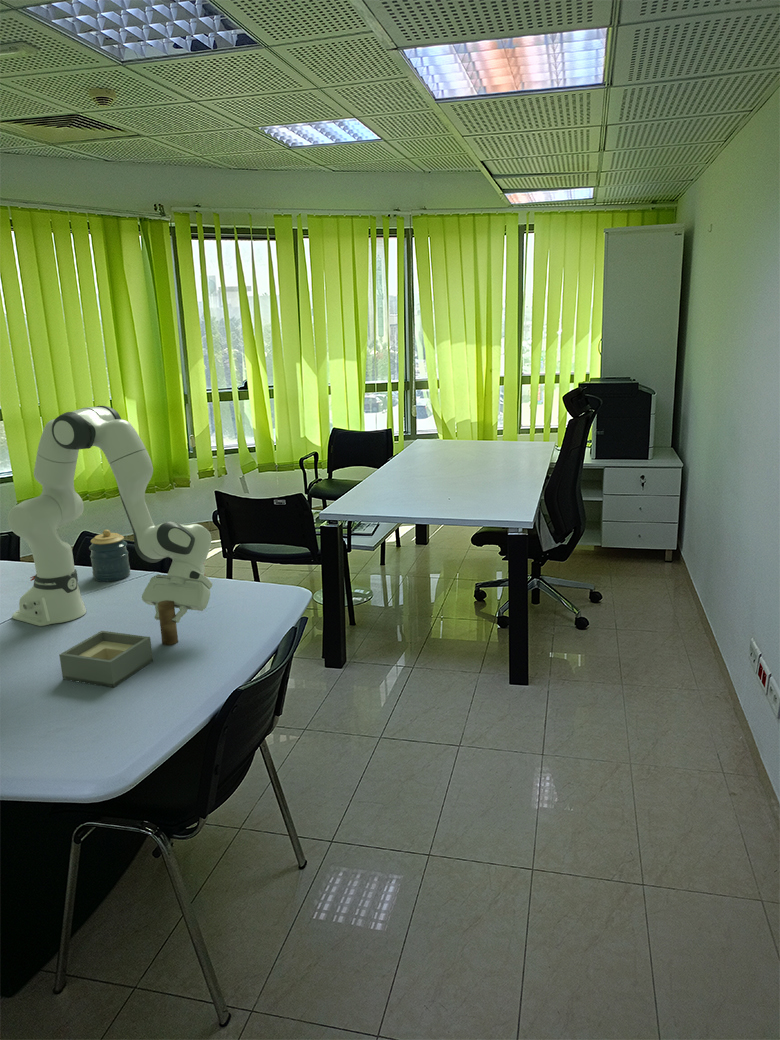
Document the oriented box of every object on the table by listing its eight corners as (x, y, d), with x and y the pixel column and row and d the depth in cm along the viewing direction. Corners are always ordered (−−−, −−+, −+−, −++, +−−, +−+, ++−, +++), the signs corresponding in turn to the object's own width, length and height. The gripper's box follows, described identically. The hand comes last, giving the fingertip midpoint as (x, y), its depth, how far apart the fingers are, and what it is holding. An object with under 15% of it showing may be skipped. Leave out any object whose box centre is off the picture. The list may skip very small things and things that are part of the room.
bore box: (63, 679, 196) (59, 654, 194) (104, 653, 211) (101, 630, 209) (113, 687, 191) (110, 662, 189) (153, 661, 205) (150, 637, 203)
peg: (159, 644, 216) (154, 604, 213) (168, 638, 220) (163, 599, 217) (172, 646, 214) (167, 606, 211) (181, 639, 218) (177, 601, 215)
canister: (86, 581, 270) (79, 534, 266) (104, 570, 283) (98, 524, 278) (120, 582, 268) (114, 535, 264) (137, 570, 281) (131, 525, 276)
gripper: (147, 569, 222) (130, 612, 216) (207, 575, 215) (191, 619, 209) (158, 578, 227) (141, 621, 221) (217, 584, 220) (201, 628, 214)
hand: (166, 620), depth 215 cm, fingers closed on peg, 4 cm apart
